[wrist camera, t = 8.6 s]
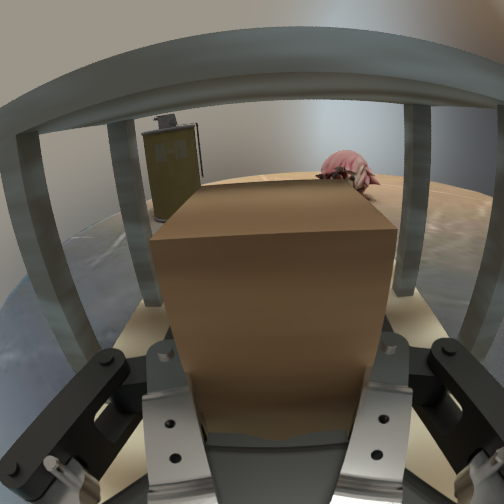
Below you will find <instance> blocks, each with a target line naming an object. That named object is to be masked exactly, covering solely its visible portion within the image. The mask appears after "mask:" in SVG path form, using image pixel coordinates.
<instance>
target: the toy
mask: <svg viewBox="0 0 504 504" xmlns="http://www.w3.org/2000/svg"><path fill="white" fill-rule="evenodd" d="M321 172H322V173H321V174H319V175H315V176H316V177H318V178H320V179H344V180H345V181H346V182H348V183H349V184H350V185H351V186H352V187H353V188H354V189H356V190H357V191H358V192H359V193H360V194H362V193H363V192H364V191H365V189H366V188H367V187H369V184H377V185H381V184H380V183H379V182H378V181H377V180H376V179H375V178H374V177H373V176H375V175H374V174H373V172H372V170H371V169H370V168H369V167H368V165H367V163H366V161H365V160H364V158H363V157H362V156H361V155H359V154H358V153H356V152H354V151H350V150H343V151H338V152H336V153H334V154H332V155H331V156H330V157H329V158H328V159H327V160H326V161H325V162H324V163H323V165H322V168H321Z"/></svg>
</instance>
